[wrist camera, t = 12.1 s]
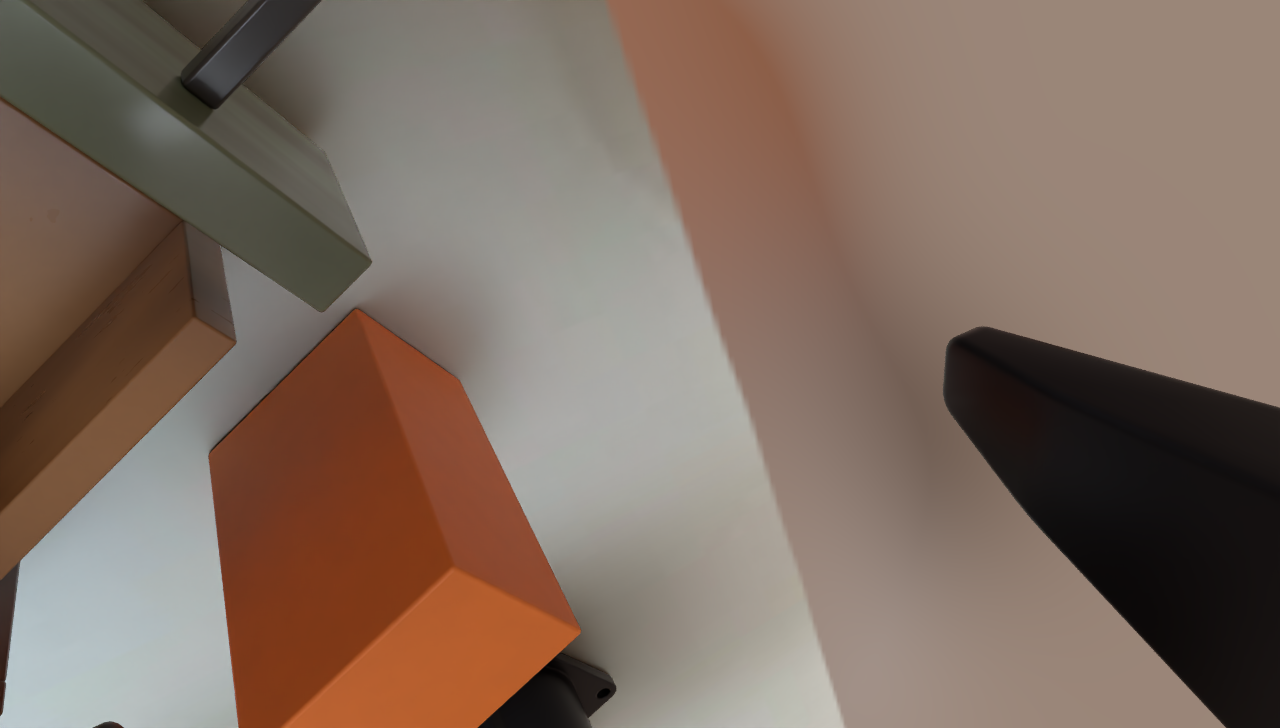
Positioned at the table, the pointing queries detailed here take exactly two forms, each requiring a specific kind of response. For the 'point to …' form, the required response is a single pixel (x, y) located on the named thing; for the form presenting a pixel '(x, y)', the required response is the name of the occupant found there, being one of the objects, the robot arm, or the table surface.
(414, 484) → the orange rectangular block
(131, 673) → the table surface
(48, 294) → the drawer
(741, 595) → the table surface
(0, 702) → the cabinet
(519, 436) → the table surface
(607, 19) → the table surface
